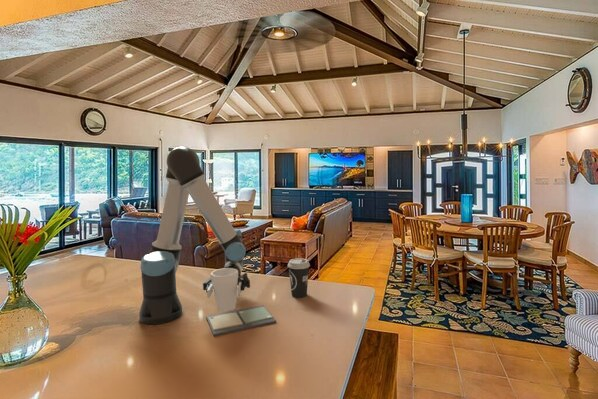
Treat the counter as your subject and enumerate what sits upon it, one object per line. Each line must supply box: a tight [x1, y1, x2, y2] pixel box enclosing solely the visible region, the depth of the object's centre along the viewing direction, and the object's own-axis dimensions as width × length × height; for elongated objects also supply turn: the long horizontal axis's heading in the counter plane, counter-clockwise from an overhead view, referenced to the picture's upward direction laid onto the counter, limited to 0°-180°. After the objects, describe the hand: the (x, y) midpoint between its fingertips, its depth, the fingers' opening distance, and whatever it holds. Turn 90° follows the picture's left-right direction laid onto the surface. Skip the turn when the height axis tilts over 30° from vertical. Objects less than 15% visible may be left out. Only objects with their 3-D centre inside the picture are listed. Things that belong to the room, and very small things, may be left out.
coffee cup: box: [287, 257, 311, 299], centre depth 147 cm, size 10×10×15 cm
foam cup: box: [210, 267, 238, 312], centre depth 122 cm, size 10×9×13 cm
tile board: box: [205, 304, 277, 337], centre depth 125 cm, size 22×15×1 cm
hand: (223, 293), depth 117 cm, fingers closed on foam cup, 9 cm apart
